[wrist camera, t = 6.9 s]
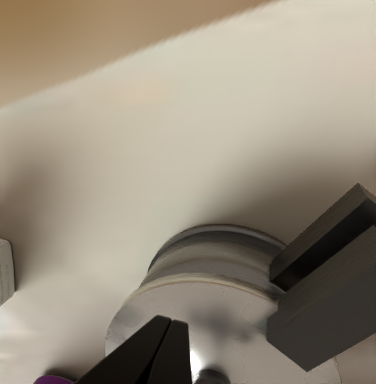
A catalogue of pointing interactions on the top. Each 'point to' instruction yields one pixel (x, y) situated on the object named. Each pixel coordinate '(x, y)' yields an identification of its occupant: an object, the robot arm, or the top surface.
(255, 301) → the lid
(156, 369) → the robot arm
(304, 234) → the pot
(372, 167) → the top surface
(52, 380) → the beverage can
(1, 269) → the skincare box
